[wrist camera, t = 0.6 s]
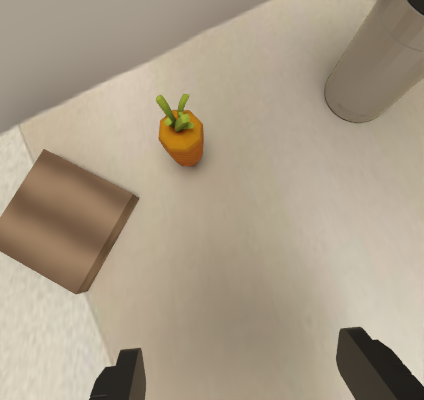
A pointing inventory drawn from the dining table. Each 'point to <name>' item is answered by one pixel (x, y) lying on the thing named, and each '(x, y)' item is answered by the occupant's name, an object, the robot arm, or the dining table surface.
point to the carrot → (181, 133)
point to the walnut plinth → (64, 222)
